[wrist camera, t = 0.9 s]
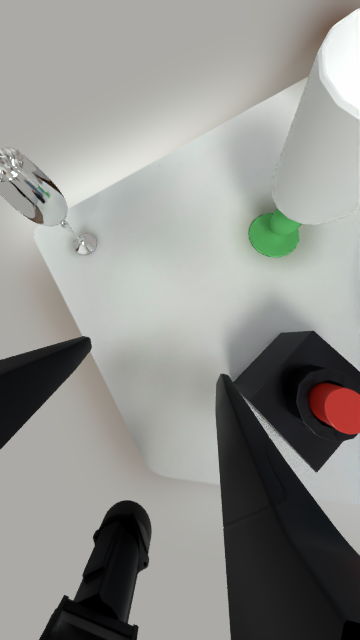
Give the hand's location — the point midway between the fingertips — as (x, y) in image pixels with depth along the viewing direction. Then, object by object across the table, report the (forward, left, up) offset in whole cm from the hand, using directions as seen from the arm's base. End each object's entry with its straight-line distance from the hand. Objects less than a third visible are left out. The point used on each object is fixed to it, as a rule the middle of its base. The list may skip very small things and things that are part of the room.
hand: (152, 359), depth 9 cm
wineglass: (+25, +7, -14) cm, 30 cm away
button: (-12, -14, -7) cm, 19 cm away
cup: (+11, -26, -14) cm, 31 cm away
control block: (-12, -14, -14) cm, 23 cm away
